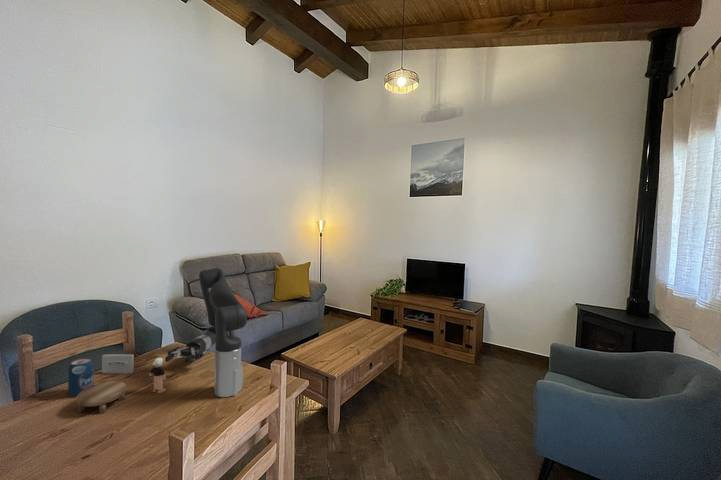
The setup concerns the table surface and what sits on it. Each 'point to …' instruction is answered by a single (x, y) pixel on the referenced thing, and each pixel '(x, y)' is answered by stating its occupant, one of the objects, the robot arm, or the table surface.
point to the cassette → (111, 367)
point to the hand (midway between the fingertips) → (176, 360)
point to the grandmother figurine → (158, 375)
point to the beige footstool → (101, 395)
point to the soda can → (80, 376)
